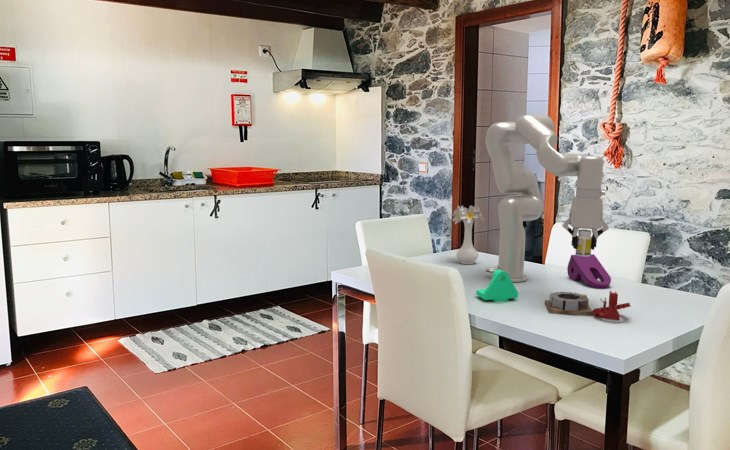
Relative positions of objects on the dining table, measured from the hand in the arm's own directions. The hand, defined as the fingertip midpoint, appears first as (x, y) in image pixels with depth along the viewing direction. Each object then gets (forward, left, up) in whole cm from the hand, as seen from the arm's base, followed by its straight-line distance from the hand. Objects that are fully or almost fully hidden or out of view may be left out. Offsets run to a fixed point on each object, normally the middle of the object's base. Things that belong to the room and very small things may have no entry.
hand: (583, 248), depth 202 cm
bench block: (-6, -11, -18) cm, 22 cm away
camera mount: (-28, -3, -18) cm, 33 cm away
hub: (-6, -11, -17) cm, 21 cm away
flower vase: (-38, +54, -18) cm, 68 cm away
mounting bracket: (+9, +27, -18) cm, 34 cm away
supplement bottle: (0, 0, -3) cm, 3 cm away
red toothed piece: (+5, -17, -18) cm, 26 cm away
